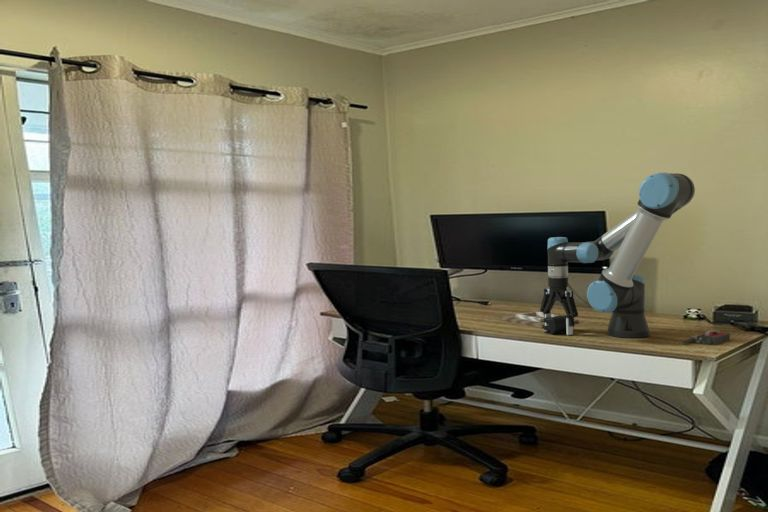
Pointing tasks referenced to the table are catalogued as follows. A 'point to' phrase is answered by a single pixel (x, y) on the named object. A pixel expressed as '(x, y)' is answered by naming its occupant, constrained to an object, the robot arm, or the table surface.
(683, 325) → the table surface
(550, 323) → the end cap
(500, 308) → the table surface
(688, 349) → the table surface
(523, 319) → the lens rest
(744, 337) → the table surface
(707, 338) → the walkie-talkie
